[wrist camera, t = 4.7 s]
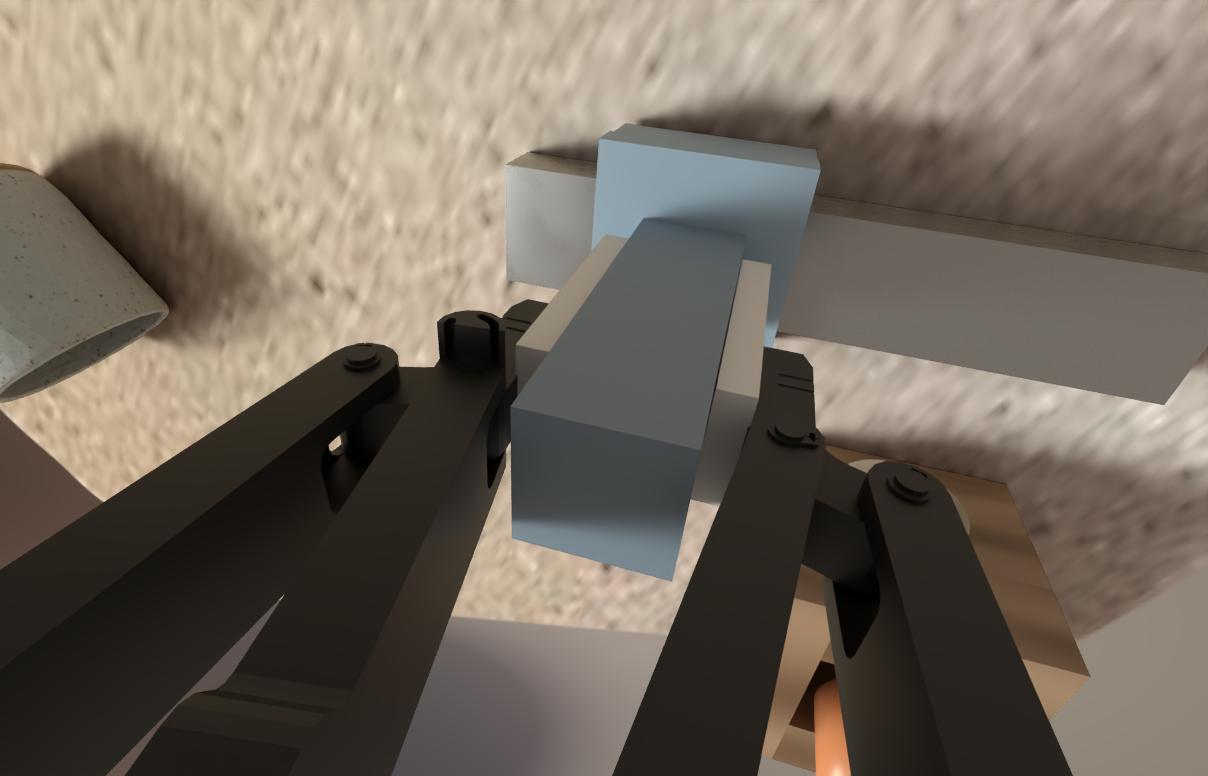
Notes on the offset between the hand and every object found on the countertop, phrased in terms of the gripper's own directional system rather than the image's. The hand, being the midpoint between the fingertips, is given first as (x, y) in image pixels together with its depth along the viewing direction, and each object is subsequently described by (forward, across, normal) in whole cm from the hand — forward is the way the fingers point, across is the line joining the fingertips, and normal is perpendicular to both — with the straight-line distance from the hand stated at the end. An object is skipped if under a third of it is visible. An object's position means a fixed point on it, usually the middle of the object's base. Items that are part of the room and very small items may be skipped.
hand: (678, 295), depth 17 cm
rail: (+5, +4, 0) cm, 7 cm away
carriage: (+5, 0, 0) cm, 5 cm away
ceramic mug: (+5, -29, -7) cm, 31 cm away
